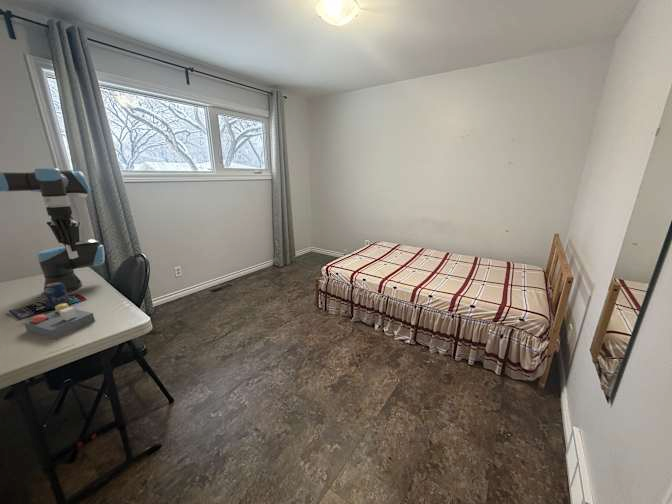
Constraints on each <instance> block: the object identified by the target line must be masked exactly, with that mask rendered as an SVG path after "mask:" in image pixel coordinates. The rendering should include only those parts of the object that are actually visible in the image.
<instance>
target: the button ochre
mask: <svg viewBox="0 0 672 504" xmlns="http://www.w3.org/2000/svg"><path fill="white" fill-rule="evenodd" d="M68 307H70V306H69V305H68V303H63V304H59V305H56V306H55V309H54V310H55V311H56V312H57V314H60V313H59V311H60V310H62V309H65V308H68Z"/></svg>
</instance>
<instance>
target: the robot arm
mask: <svg viewBox="0 0 672 504" xmlns="http://www.w3.org/2000/svg"><path fill="white" fill-rule="evenodd" d="M27 191H28V192H32V193H33V192H34V193H41V197H42V199H43V202H44V206H46V207H45V209H46V213H47V215H48V216H49V217H51V218H50V221H47V222H46V224H47V226H48V227H49V228H50V230H51V231H52V233H53V235H54V237H55V238H56V240H57V242H58V244H62V246H56V247H51V248H47V249H44V250H42V251H40V252H38V253H37V258H38V263H39V265H40V266H39V267H40V268H41V271H42V274H43V277H44V284H43V289H44V288H45V285H46V284H49V283H53V282H62V283H63V284H64V285H65V288H66V291H67V293H68V292H72V291H74V290H78V289H80V288H81V287H82V286H83V282H82V280H81V279H80V278H79V276H78V275H77V274H76V273H75V271H74V270H76V269H82V268H90V267H91V268H92V267H95V266H101V265H103V264H104V263H105V260H106V259H105V258H106V257H105V254H106V253H105V248H104V244H100V241H99V240H97V239H95V234H94V233H95V232H94V229H93V226H92V225H93V224H92V220H91V217H90V212H89V209H88V204H87V200H86V198H87V197H89V193H90V192H91V188H90V186H89V182H88V181H87V178H86V176H85V175H84V173H83V172H82V171H79V170H78V171H77V170H60V169H59V168H56V167H55V168H53V167H52V168H51V167H49V168H48V167H45V168H44V167H43V168H42V167H41V168H39V167H37V168H35V169H34V171H32V172H0V192H5V193H8V192H27ZM43 291H44V290H43ZM44 293H45V291H44Z"/></svg>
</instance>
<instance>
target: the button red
mask: <svg viewBox="0 0 672 504" xmlns="http://www.w3.org/2000/svg"><path fill="white" fill-rule="evenodd" d="M45 315H46V314H44V313H43V314H42V313H41V314H37V315H34V316H32V317H30V320H32V323H33V324H38V323H41V322H43V321H46V320H47V319H46V316H45Z"/></svg>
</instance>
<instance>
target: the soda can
mask: <svg viewBox="0 0 672 504" xmlns="http://www.w3.org/2000/svg"><path fill="white" fill-rule="evenodd" d="M43 291H45V292H44V294H45V296H46V299H47V302H48V305H49V308H51V309H52V310H56V309H55V306H56V305H59V304H63V303H68V306H69V305H70V303H71V300H70V297H69V294H68V292H67V291H66V288H65V285H64V284H63V283H62V282H53V283H49V284H46V285H45V288H44V287H43Z"/></svg>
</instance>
